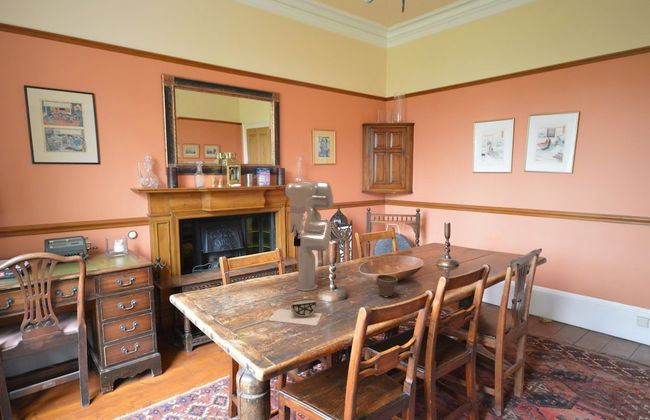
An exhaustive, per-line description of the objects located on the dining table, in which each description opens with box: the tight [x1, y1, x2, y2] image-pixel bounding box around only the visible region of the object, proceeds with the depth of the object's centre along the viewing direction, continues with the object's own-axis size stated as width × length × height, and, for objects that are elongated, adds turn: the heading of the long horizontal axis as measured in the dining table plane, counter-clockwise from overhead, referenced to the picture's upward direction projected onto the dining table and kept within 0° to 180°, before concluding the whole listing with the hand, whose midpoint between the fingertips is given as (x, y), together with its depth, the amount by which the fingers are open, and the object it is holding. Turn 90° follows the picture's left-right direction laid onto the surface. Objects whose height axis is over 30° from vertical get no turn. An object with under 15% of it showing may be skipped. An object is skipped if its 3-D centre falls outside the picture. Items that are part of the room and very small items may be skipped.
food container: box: [290, 298, 318, 317], centre depth 169 cm, size 12×6×10 cm
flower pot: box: [375, 274, 399, 297], centre depth 196 cm, size 12×11×10 cm
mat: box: [268, 308, 323, 327], centre depth 165 cm, size 13×22×1 cm, turn 79°
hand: (297, 246), depth 180 cm, fingers closed
